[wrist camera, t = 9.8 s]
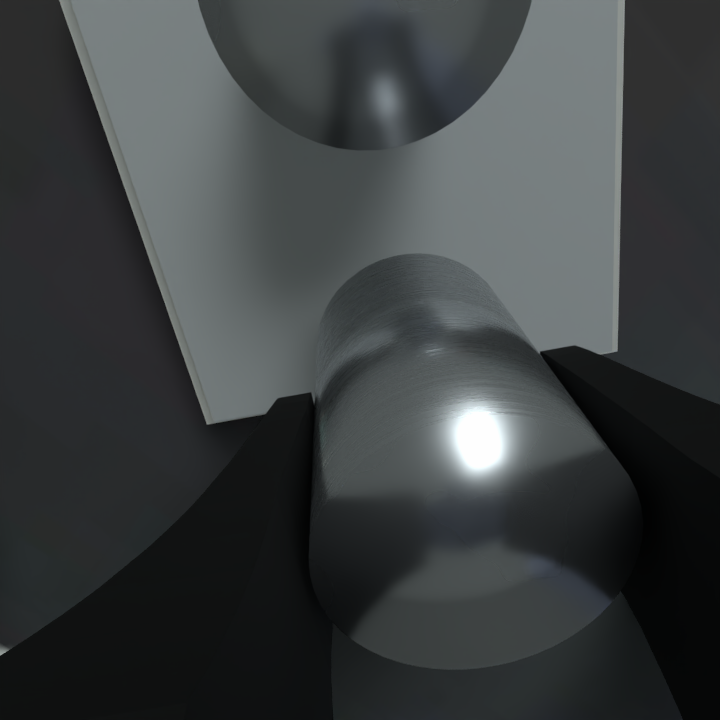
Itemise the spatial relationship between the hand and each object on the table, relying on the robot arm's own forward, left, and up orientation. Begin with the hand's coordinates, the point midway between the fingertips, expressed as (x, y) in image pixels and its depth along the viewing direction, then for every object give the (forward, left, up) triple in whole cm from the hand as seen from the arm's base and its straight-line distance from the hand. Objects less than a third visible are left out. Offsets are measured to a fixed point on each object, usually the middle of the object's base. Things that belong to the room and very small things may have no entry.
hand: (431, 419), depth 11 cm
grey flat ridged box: (+4, 0, -8) cm, 9 cm away
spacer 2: (0, 0, -2) cm, 2 cm away
